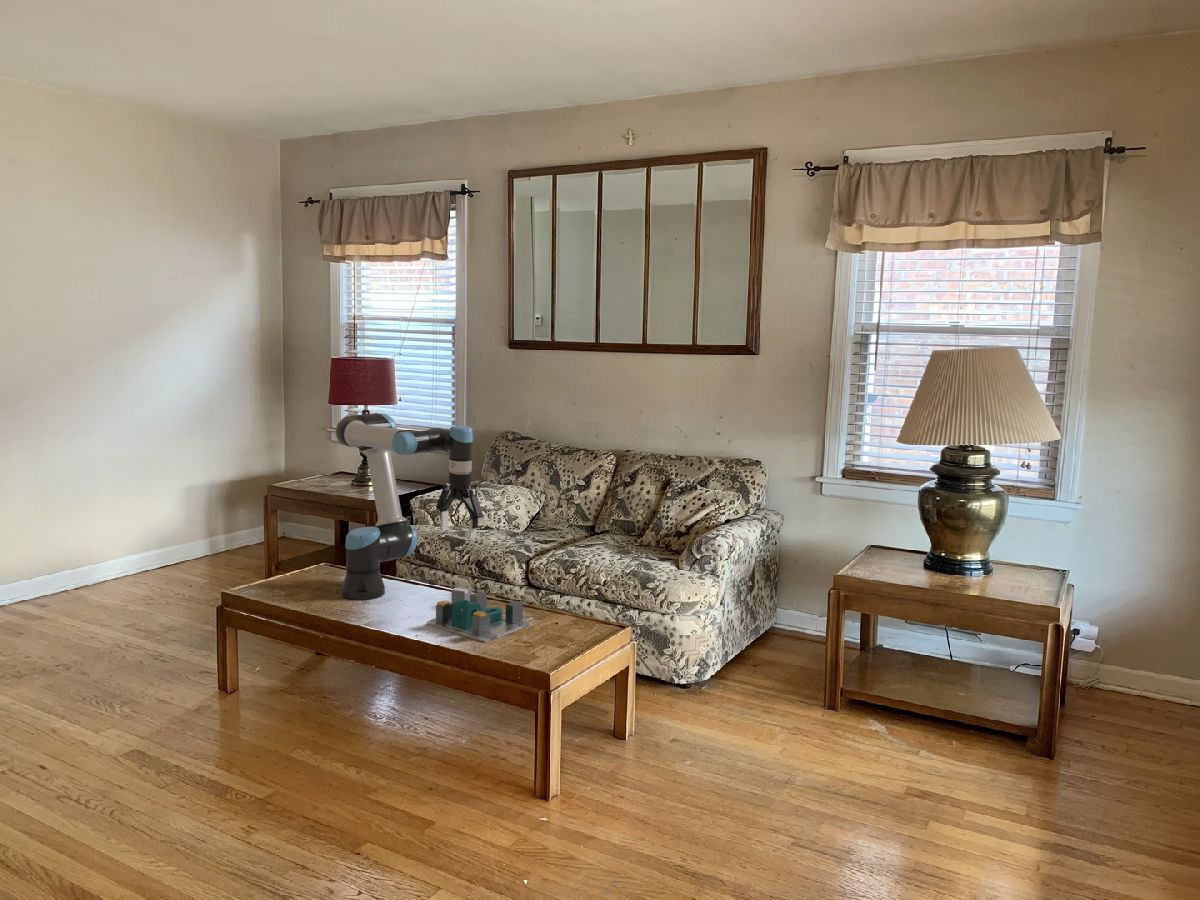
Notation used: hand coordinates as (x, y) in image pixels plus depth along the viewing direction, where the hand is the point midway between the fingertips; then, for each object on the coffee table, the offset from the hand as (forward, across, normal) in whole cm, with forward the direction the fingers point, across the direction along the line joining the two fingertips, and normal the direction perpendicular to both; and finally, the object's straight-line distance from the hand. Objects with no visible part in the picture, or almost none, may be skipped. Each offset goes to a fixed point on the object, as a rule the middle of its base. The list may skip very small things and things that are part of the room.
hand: (458, 533), depth 310 cm
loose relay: (+26, 0, +3) cm, 26 cm away
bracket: (+24, +19, -8) cm, 32 cm away
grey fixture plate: (+25, +19, -8) cm, 33 cm away
